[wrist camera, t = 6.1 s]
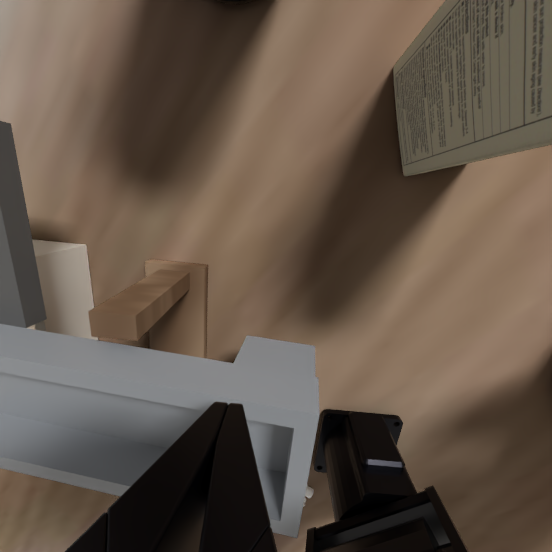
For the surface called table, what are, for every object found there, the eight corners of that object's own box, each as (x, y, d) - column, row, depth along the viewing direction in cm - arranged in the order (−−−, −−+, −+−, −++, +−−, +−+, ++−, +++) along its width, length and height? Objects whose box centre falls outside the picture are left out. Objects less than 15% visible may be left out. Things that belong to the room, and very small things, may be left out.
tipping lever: (344, 161, 12) (371, 127, 6) (302, 424, 16) (297, 538, 11) (3, 133, 14) (-204, 88, 8) (50, 377, 18) (-62, 453, 13)
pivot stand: (207, 264, 18) (158, 309, 11) (205, 393, 21) (166, 494, 14) (150, 259, 18) (63, 300, 11) (157, 389, 21) (93, 487, 14)
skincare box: (472, 161, 16) (1032, 55, 4) (400, 178, 16) (719, 126, 4) (471, 35, 14) (1486, -829, 2) (390, 58, 14) (889, -583, 3)
